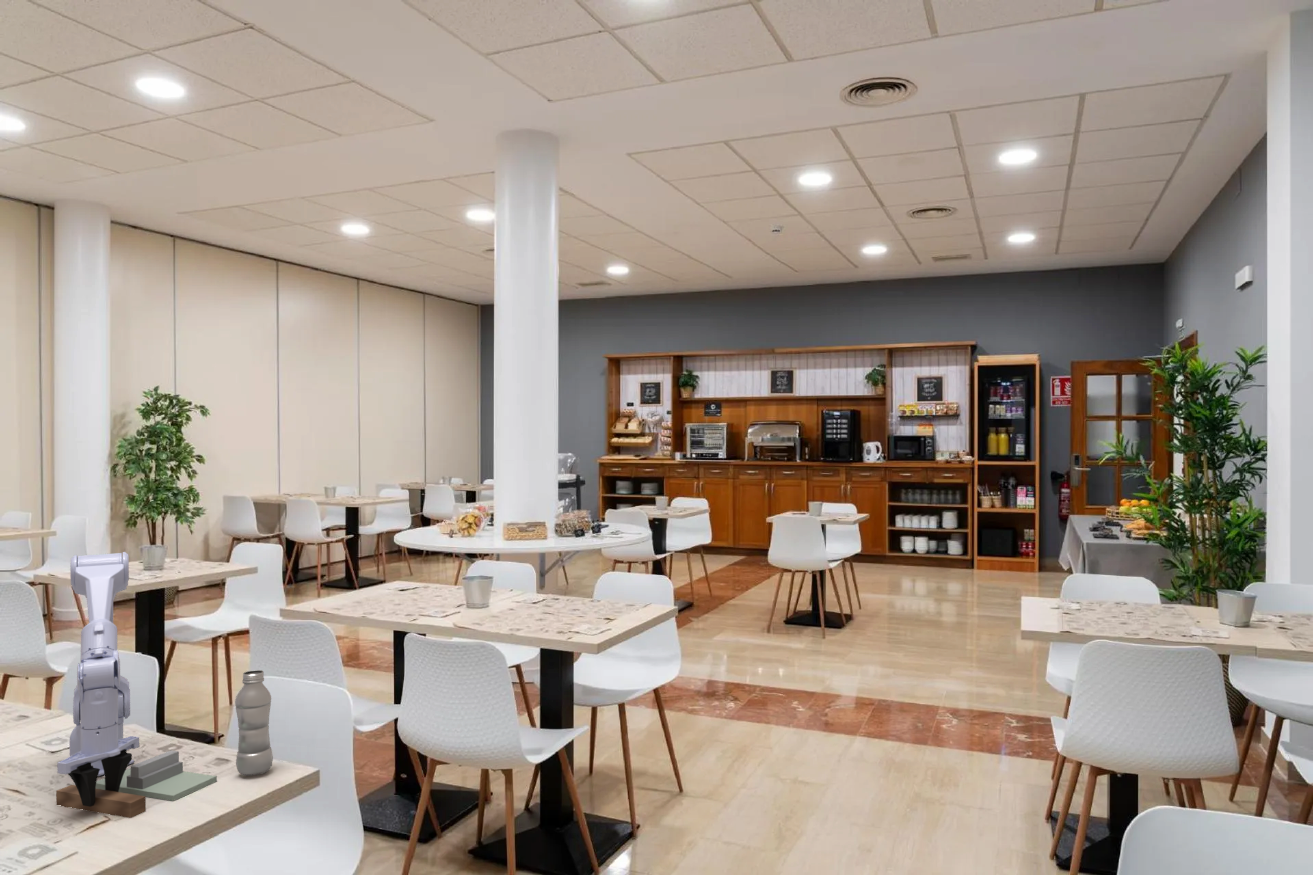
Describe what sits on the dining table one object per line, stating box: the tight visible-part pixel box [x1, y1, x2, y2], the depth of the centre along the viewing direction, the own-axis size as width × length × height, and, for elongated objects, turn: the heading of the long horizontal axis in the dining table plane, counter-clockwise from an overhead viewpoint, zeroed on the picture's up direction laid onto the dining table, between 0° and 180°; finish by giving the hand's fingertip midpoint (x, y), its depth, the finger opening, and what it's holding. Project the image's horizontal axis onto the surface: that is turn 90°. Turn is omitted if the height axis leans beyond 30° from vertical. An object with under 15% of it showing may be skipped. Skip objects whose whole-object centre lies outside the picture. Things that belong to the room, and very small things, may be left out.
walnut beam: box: [55, 784, 147, 819], centre depth 162 cm, size 18×3×3 cm, turn 71°
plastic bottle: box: [234, 669, 274, 777], centre depth 178 cm, size 6×7×20 cm
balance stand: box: [96, 750, 218, 802], centre depth 173 cm, size 20×10×5 cm, turn 70°
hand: (100, 800), depth 162 cm, fingers open, 4 cm apart
